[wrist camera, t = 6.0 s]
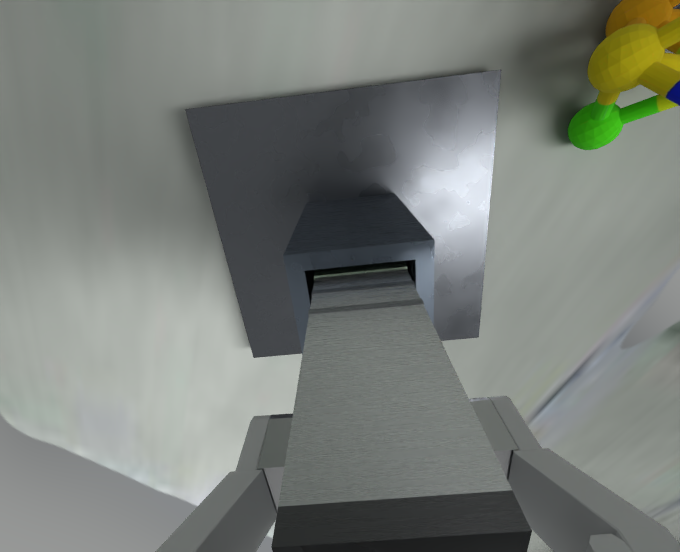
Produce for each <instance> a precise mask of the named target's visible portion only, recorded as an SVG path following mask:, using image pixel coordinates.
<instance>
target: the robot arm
mask: <svg viewBox="0 0 680 552" xmlns="http://www.w3.org/2000/svg"><path fill="white" fill-rule="evenodd" d="M469 401H470V403H471V405H472V407H473V409H474V411H475V413H476V415H477V417H478V419H479V421H480V424H481V426H482V428H483V430H484V432H485V434H486V436H487V438H488V440H489V442H490V444H491V447H492V449H493V451H494V453H495V455H496V457H497V459H498V461H499V463H500V465H501V467H502V469H503V472H504V474H505V476H506V478H507V480H508V482H509V484H510V486H511V488H512V490H513V492H514V495H515V497H516V499H517V501H518V503H519V505H520V507H521V509H522V511H523V513H524V515H525V517H526V520H527V522H528V524H529V526H530V528H531V529H532V530H533V531H534V532H535V533H536V534H537V535H538V536H539V537H540V538H541V539H542V540H543V541H544V542H545V543H546V544H547V545H548V546H549V547H550V548H551V549H552V550H553V551H554V552H680V544H679V543H678V542H677V540H676V539H675V538H674V537H673V535H672V534H671V533H670V532H669V530H668V529H667V528H665V527H664V526H662V525H661V524H659V523H658V522H656V521H655V520H653V519H652V518H651V517H649V516H648V515H646V514H645V513H643V512H642V511H640V510H639V509H637V508H636V507H634V506H633V505H631V504H630V503H628V502H627V501H625V500H624V499H622V498H621V497H619V496H618V495H616V494H615V493H614V492H612V491H611V490H609V489H608V488H606V487H605V486H603V485H602V484H600V483H599V482H597V481H596V480H594V479H593V478H591V477H590V476H588V475H587V474H585V473H584V472H582V471H581V470H579V469H578V468H576V467H575V466H574V465H572V464H571V463H569V462H568V461H566V460H565V459H563V458H562V457H560V456H559V455H557V454H556V453H554V452H553V451H551V450H550V449H548V448H545V449H542V448H541V446H540V445H539V443H538V442H537V440H536V438H535V437H534V435H533V434H532V432H531V431H530V429H529V427H528V426H527V424H526V423H525V421H524V420H523V418H522V416H521V415H520V413H519V412H518V410H517V409H516V407H515V405H514V404H513V402H512V401H511V399H510V398H509V397H507V396H498V397H488V398H486V397H485V398H474V399H469ZM292 417H293V414H279V415H266V416H254V417H253V419H252V420H251V422H250V425H249V428H248V432H247V435H246V438H245V442H244V445H243V448H242V451H241V455H240V458H239V461H238V465H237V468H236V471H234V472H229V474H228V475H227V476H226V477H225V478H224V479H223V480H222V481H221V482H220V483H219V484H218V485H217V486H216V487H215V489H214V490H213V491H212V492H211V493H210V494H209V495H208V496H207V497H206V498H205V499H204V500H203V501H202V502H201V504H200V505H199V506H198V507H197V508H196V509H195V510H194V511H193V512H192V513H191V515H189V516H188V517H187V519H186V520H185V521H184V522H183V523H182V524H181V525H180V526H179V527H178V528H177V529H176V530H175V531H174V532H173V534H172V535H171V536H170V537H169V538H168V539H167V540H166V541H165V542H164V543H163V544H162V545H161V547H160V548H159V549H158V550H157V551H156V552H256V551H257V549H258V548H259V546H260V544H261V543H262V541H263V539H264V538H265V536H266V535H267V533H268V531H269V530H270V528H271V526H272V525H273V523H274V522H275V520H276V517H277V510H278V504H279V498H280V492H281V486H282V479H283V473H284V467H285V461H286V455H287V448H288V442H289V436H290V430H291V424H292Z"/></svg>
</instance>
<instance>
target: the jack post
mask: <svg viewBox="0 0 680 552" xmlns="http://www.w3.org/2000/svg"><path fill="white" fill-rule="evenodd" d="M314 280H315V281H314V287H313V290H312V300H311V306H310V309H309V312H308V316H309V318H308V324H307V331H306V337H305V343H304V349H303V355H302V362H301V368H300V374H299V380H298V386H297V393H296V399H295V405H294V411H293V417H292V424H291V430H290V436H289V442H288V448H287V455H286V461H285V467H284V473H283V479H282V486H281V492H280V498H279V504H278V510H277V517H276V523H275V529H274V535H273V542H272V550H273V552H527V549H528V545H529V541H530V536H531V532H532V530H531V528H530V526H529V524H528V522H527V520H526V517H525V515H524V513H523V511H522V509H521V507H520V505H519V503H518V501H517V499H516V497H515V495H514V492H513V490H512V488H511V486H510V484H509V482H508V480H507V478H506V476H505V474H504V472H503V469H502V467H501V465H500V463H499V461H498V459H497V457H496V455H495V453H494V451H493V449H492V447H491V444H490V442H489V440H488V438H487V436H486V434H485V432H484V430H483V428H482V426H481V424H480V421H479V419H478V417H477V415H476V413H475V411H474V409H473V407H472V405H471V403H470V401H469V399H468V396H467V394H466V392H465V390H464V388H463V386H462V384H461V382H460V380H459V378H458V376H457V373H456V371H455V369H454V367H453V365H452V363H451V361H450V359H449V357H448V355H447V353H446V351H445V348H444V346H443V344H442V342H441V340H440V338H439V336H438V334H437V332H436V330H435V328H434V325H433V323H432V321H431V319H430V317H429V315H428V313H427V311H426V309H425V307H424V302H423V300H422V299H421V298H420V296H419V294H418V292H417V290H416V288H415V283H414V281H412V280H411V277H410V275H409V273H408V271H407V266H406V264H405V262H404V261H396V262H386V263H376V264H366V265H356V266H347V267H337V268H327V269H317V270H315V272H314Z"/></svg>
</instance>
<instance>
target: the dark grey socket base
mask: <svg viewBox="0 0 680 552" xmlns="http://www.w3.org/2000/svg"><path fill="white" fill-rule="evenodd" d="M500 78H501V70H495V71H487V72H479V73H471V74H463V75H455V76H447V77H440V78H432V79H424V80H416V81H408V82H400V83H392V84H384V85H376V86H368V87H360V88H352V89H344V90H336V91H328V92H320V93H312V94H304V95H296V96H288V97H280V98H273V99H265V100H257V101H249V102H241V103H233V104H225V105H217V106H209V107H201V108H193V109H185V110H186V114H187V118H188V121H189V125H190V128H191V132H192V136H193V139H194V143H195V147H196V150H197V154H198V157H199V161H200V165H201V168H202V172H203V176H204V179H205V183H206V186H207V190H208V194H209V197H210V201H211V205H212V208H213V212H214V215H215V219H216V223H217V226H218V230H219V234H220V237H221V241H222V244H223V248H224V252H225V255H226V259H227V263H228V266H229V270H230V273H231V277H232V281H233V284H234V288H235V292H236V295H237V299H238V302H239V306H240V310H241V313H242V317H243V321H244V324H245V328H246V331H247V335H248V339H249V342H250V346H251V350H252V353H253V357H254V358H256V357H267V356H278V355H289V354H300V353H302V355H303V349H304V343H305V337H306V331H307V324H308V318H309V316H308V312H309V309H310V306H311V300H312V290H313V287H314V281H315V280H314V272H315V270H317V269H327V268H337V267H347V266H356V265H366V264H376V263H386V262H396V261H404V262H405V264H406V266H407V271H408V273H409V275H410V277H411V280H412V281H414V283H415V288H416V290H417V292H418V294H419V296H420V298H421V299H422V300H423V302H424V307H425V309H426V311H427V313H428V315H429V317H430V319H431V321H432V323H433V325H434V328H435V330H436V332H437V334H438V336H439V338H440V340H441V341H444V340H455V339H466V338H477V337H479V327H480V315H481V303H482V291H483V279H484V267H485V255H486V244H487V232H488V220H489V208H490V196H491V184H492V172H493V161H494V149H495V137H496V125H497V113H498V101H499V90H500Z"/></svg>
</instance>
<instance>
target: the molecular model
mask: <svg viewBox="0 0 680 552" xmlns="http://www.w3.org/2000/svg"><path fill="white" fill-rule="evenodd" d="M678 4H680V0H622V1H621V2H620V3H619V4H618V5H617V6H616V7H615V8H614V10H613V11H612V13H611V14H610V16H609V19H608V21H607V25H606V37H607V38H606V39H604V40H603V41H602V42H601V43H600V44H599V45H598V46H597V48H596V49H595V51H594V52H593V54H592V56H591V58H590V60H589V65H588V71H587V73H588V78H589V81H590V82H591V84H592V85H593V87H594V88H596V89H598V90H599V91H600V92H599V94H598V97H597V99H596V102H594V103H591V104H589V105H587V106H585V107H583V108H582V109H581V110H580V111H579V112H577V113H576V114H575V116H574V117H573V118H572V119H571V121H570V123H569V127H568V137H569V140H570V141H571V142H572V144H573V145H574V146H576V147H578V148H580V149H583V150H592V149H598V148H600V147H602V146H604V145H606V144H608V143H610V142H611V141H613V140H614V139H615V138H616V137H617V136H618V135H619V133H620V131H621V130H622V127H623V124H625V123H628V122H631V121H634V120H637V119H640V118H643V117H646V116H649V115H652V114H655V113H658V112H661V111H663V110H666V109H669V108H672V107H675V106H678V105H679V106H680V9H673V7H675V6H676V5H678ZM665 49H668V50H669V51H671V52H673V53H675V54H672V53H665ZM639 84H641V85H643V86H644V87H646V88H648V89H650V90H652V91H654V92H655V93H657V94H659V95H656V96H653V97H651V98H648V99H645V100H643V101H640V102H637V103H635V104H632V105H629V106H627V107H624V108H621V109H620V107H619V106H618V105H616V104H615V102H616V100H617V98H618V96H619V94H620V92H622V91H626V90H629V89H632V88H634V87H636V86H638V85H639Z"/></svg>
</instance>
